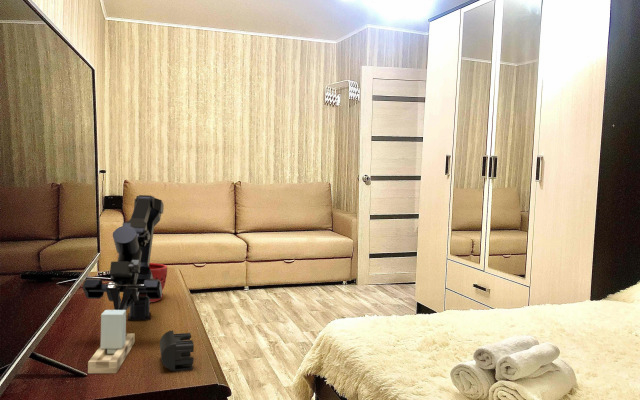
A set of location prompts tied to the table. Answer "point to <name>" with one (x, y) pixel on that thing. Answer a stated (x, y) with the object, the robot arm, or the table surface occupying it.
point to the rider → (113, 330)
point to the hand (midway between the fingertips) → (117, 318)
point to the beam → (110, 357)
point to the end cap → (177, 351)
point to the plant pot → (158, 275)
